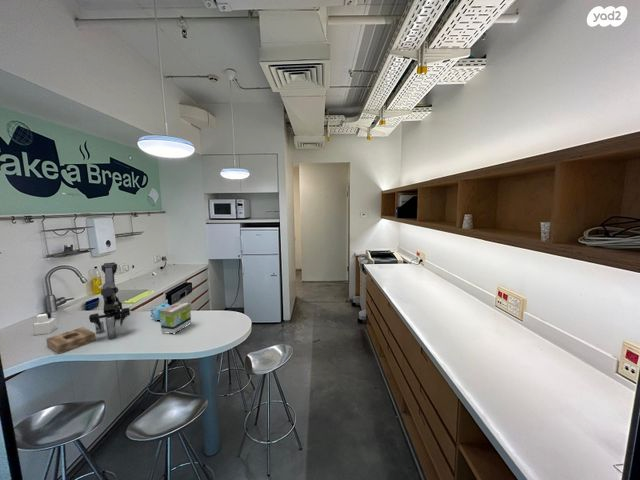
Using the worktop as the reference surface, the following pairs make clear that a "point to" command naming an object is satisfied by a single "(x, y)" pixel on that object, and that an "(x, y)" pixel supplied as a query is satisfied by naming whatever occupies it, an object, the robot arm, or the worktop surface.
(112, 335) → the long pin
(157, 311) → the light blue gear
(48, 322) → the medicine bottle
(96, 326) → the short pin
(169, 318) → the tea box
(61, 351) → the plate
